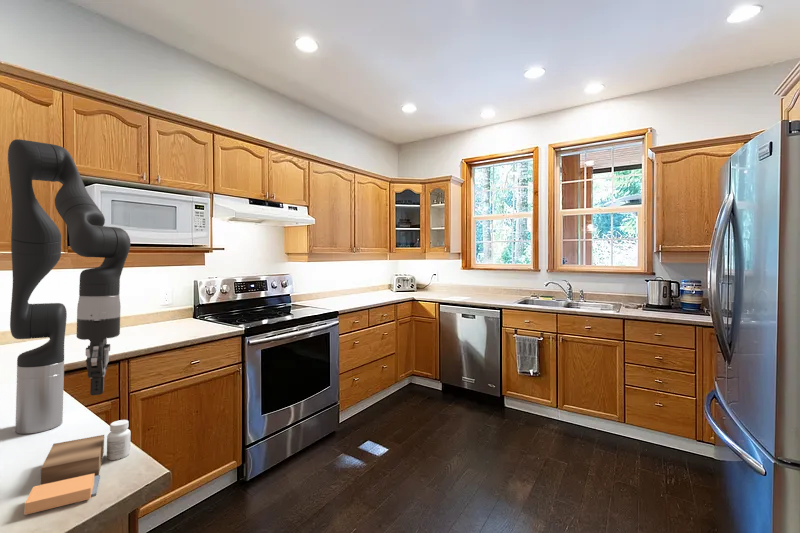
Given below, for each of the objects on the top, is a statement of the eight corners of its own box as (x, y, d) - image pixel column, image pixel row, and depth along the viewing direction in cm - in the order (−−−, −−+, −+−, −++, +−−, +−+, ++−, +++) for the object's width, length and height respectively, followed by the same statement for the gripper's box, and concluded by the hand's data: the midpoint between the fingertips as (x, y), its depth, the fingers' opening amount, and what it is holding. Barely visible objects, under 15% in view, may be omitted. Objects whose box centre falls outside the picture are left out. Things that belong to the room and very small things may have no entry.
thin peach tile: (24, 503, 66) (24, 515, 66) (90, 488, 71) (90, 498, 71) (33, 486, 71) (33, 497, 71) (94, 473, 76) (94, 483, 76)
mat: (48, 488, 75) (48, 486, 75) (100, 476, 79) (100, 474, 79) (39, 509, 69) (39, 506, 69) (96, 495, 73) (96, 493, 73)
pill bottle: (117, 450, 90) (118, 418, 90) (134, 451, 90) (135, 419, 90) (101, 459, 86) (102, 425, 86) (119, 461, 86) (120, 427, 86)
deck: (53, 461, 85) (53, 443, 85) (103, 451, 90) (104, 434, 90) (40, 488, 75) (41, 468, 75) (98, 475, 80) (99, 456, 80)
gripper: (82, 313, 87) (80, 388, 87) (71, 320, 76) (68, 406, 76) (122, 311, 91) (120, 383, 91) (117, 318, 80) (115, 400, 80)
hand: (97, 393), depth 84 cm, fingers closed
